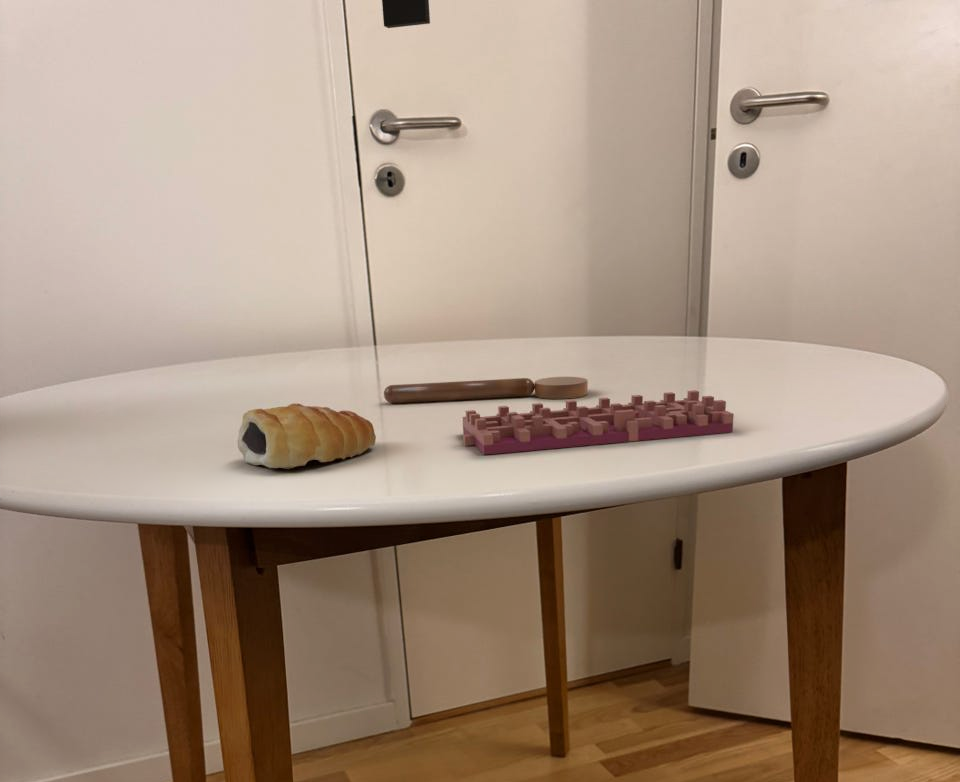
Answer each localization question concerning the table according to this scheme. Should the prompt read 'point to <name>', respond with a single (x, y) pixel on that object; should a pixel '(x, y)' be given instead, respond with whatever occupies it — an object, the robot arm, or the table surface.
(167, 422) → the table surface
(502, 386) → the wooden spoon
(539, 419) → the pink studded slab
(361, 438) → the pastry
